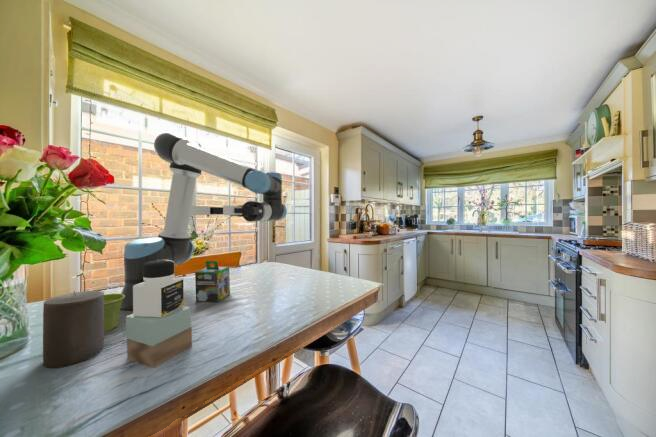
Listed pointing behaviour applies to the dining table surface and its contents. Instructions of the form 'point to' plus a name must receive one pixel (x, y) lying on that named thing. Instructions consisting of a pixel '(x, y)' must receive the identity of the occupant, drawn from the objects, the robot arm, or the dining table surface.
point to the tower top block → (157, 326)
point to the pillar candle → (72, 328)
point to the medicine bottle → (158, 290)
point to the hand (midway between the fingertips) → (206, 210)
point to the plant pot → (112, 310)
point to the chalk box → (212, 283)
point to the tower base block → (159, 349)
